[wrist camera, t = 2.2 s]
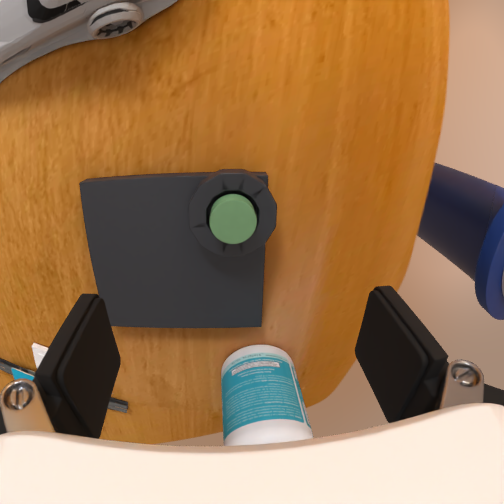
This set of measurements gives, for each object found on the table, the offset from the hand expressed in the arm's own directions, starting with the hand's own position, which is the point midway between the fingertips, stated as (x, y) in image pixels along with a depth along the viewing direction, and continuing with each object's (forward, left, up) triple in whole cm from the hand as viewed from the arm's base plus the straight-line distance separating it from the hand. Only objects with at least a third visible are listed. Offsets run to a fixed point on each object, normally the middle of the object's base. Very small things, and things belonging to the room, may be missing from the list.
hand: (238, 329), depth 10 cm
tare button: (0, 0, -12) cm, 12 cm away
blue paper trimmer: (+22, +21, -15) cm, 34 cm away
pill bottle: (-3, +17, -15) cm, 23 cm away
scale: (+4, +4, -15) cm, 16 cm away
